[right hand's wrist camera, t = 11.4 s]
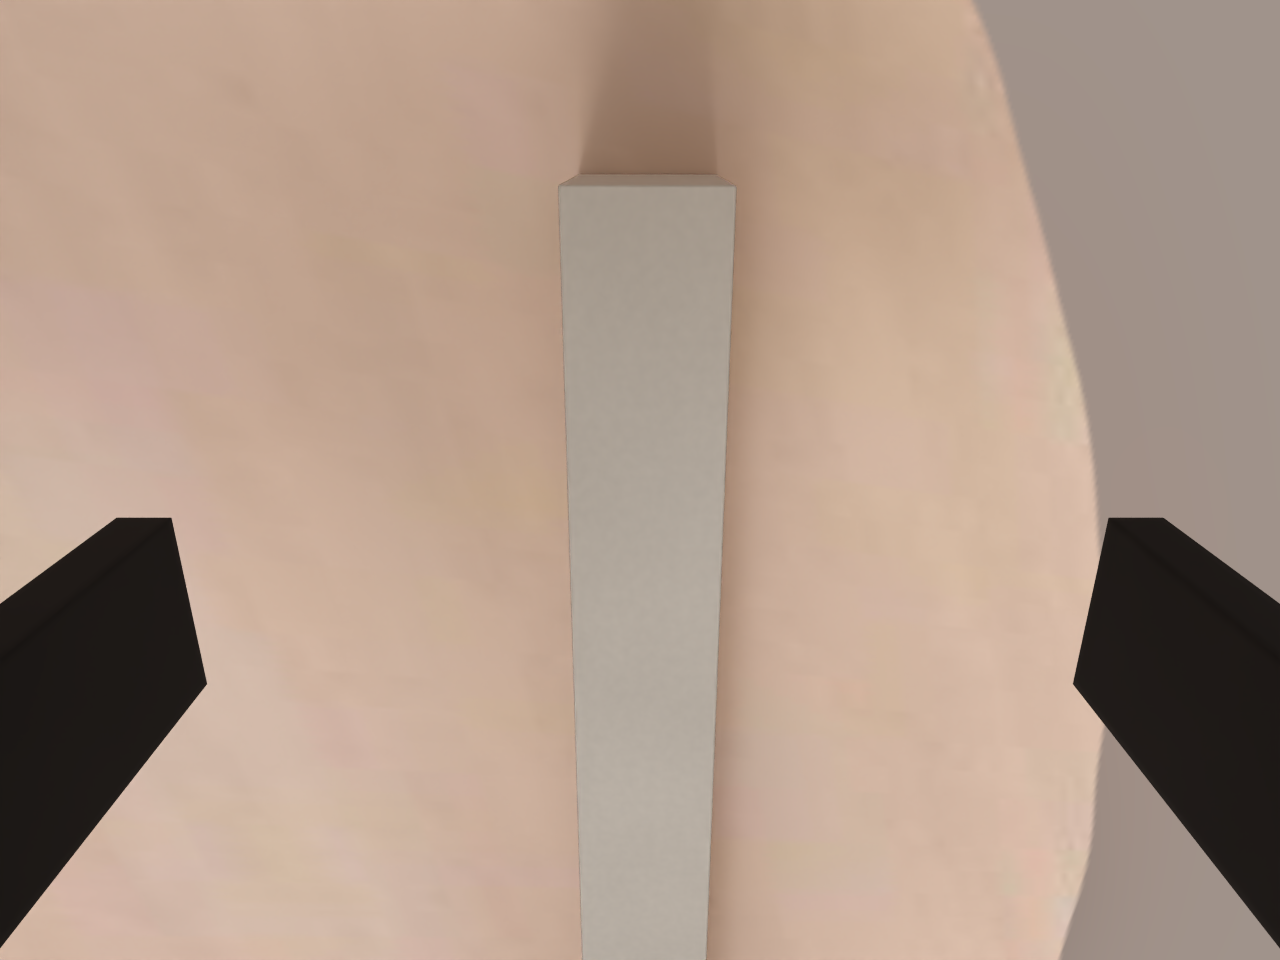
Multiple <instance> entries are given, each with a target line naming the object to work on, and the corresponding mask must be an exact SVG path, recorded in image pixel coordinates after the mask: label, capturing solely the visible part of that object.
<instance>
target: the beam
mask: <svg viewBox="0 0 1280 960" xmlns="http://www.w3.org/2000/svg"><path fill="white" fill-rule="evenodd" d="M736 191H737V187H736V185H734V184H732V183H730V182H729V181H727V180H725V179H723V178H722V177H720V176H718V175H716V174H579V175H577V176H575V177H573V178H571V179H569V180H568V181H566V182H564V183H562V184H560V185H559V186H558V201H559V233H560V265H561V297H562V329H563V361H564V393H565V425H566V457H567V489H568V521H569V553H570V585H571V618H572V650H573V682H574V714H575V746H576V778H577V810H578V842H579V874H580V906H581V938H582V960H706V959H707V934H708V908H709V882H710V857H711V831H712V806H713V780H714V754H715V729H716V703H717V678H718V652H719V626H720V601H721V575H722V549H723V524H724V498H725V473H726V447H727V421H728V396H729V370H730V345H731V319H732V293H733V268H734V242H735V216H736Z"/></svg>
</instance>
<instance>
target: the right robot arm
mask: <svg viewBox="0 0 1280 960" xmlns="http://www.w3.org/2000/svg"><path fill="white" fill-rule="evenodd" d="M206 685H207V682H206V677H205V672H204V668H203V663H202V658H201V654H200V649H199V644H198V640H197V635H196V630H195V626H194V621H193V616H192V612H191V607H190V602H189V598H188V593H187V588H186V584H185V579H184V574H183V570H182V565H181V560H180V556H179V551H178V546H177V542H176V537H175V532H174V528H173V523H172V518H116V519H114V520H113V521H112V522H110V523H109V524H108V525H106V526H105V527H104V528H102V529H101V530H99V531H98V532H97V533H95V534H94V535H93V536H91V537H90V538H89V539H87V540H86V541H85V542H83V543H82V544H81V545H79V546H78V547H76V548H75V549H74V550H72V551H71V552H70V553H68V554H67V555H66V556H64V557H63V558H62V559H60V560H59V561H58V562H56V563H55V564H53V565H52V566H51V567H49V568H48V569H47V570H45V571H44V572H43V573H41V574H40V575H39V576H37V577H36V578H34V579H33V580H32V581H30V582H29V583H28V584H26V585H25V586H24V587H22V588H21V589H20V590H18V591H17V592H16V593H14V594H13V595H11V596H10V597H9V598H7V599H6V600H5V601H3V602H2V603H1V604H0V948H1V946H2V945H3V944H4V943H5V941H6V940H7V939H8V938H9V936H10V935H11V934H12V932H13V931H14V930H15V929H16V927H17V926H18V925H19V923H20V922H21V921H22V920H23V918H24V917H25V916H26V915H27V913H28V912H29V911H30V909H31V908H32V907H33V906H34V904H35V903H36V902H37V900H38V899H39V898H40V897H41V895H42V894H43V893H44V892H45V890H46V889H47V888H48V886H49V885H50V884H51V883H52V881H53V880H54V879H55V878H56V876H57V875H58V874H59V872H60V871H61V870H62V869H63V867H64V866H65V865H66V863H67V862H68V861H69V860H70V858H71V857H72V856H73V855H74V853H75V852H76V851H77V849H78V848H79V847H80V846H81V844H82V843H83V842H84V840H85V839H86V838H87V837H88V835H89V834H90V833H91V832H92V830H93V829H94V828H95V826H96V825H97V824H98V823H99V821H100V820H101V819H102V817H103V816H104V815H105V814H106V812H107V811H108V810H109V809H110V807H111V806H112V805H113V803H114V802H115V801H116V800H117V798H118V797H119V796H120V794H121V793H122V792H123V791H124V789H125V788H126V787H127V786H128V784H129V783H130V782H131V780H132V779H133V778H134V777H135V775H136V774H137V773H138V772H139V770H140V769H141V768H142V766H143V765H144V764H145V763H146V761H147V760H148V759H149V757H150V756H151V755H152V754H153V752H154V751H155V750H156V749H157V747H158V746H159V745H160V743H161V742H162V741H163V740H164V738H165V737H166V736H167V734H168V733H169V732H170V731H171V729H172V728H173V727H174V726H175V724H176V723H177V722H178V720H179V719H180V718H181V717H182V715H183V714H184V713H185V711H186V710H187V709H188V708H189V706H190V705H191V704H192V703H193V701H194V700H195V699H196V697H197V696H198V695H199V694H200V692H201V691H202V690H203V689H204V687H205V686H206ZM1073 685H1074V686H1075V687H1076V689H1077V690H1078V691H1079V692H1080V694H1081V695H1082V696H1083V697H1084V699H1085V700H1086V701H1087V703H1088V704H1089V705H1090V706H1091V708H1092V709H1093V710H1094V711H1095V713H1096V714H1097V715H1098V717H1099V718H1100V719H1101V720H1102V722H1103V723H1104V724H1105V726H1106V727H1107V728H1108V729H1109V731H1110V732H1111V733H1112V734H1113V736H1114V737H1115V738H1116V740H1117V741H1118V742H1119V743H1120V745H1121V746H1122V747H1123V749H1124V750H1125V751H1126V752H1127V754H1128V755H1129V756H1130V757H1131V759H1132V760H1133V761H1134V763H1135V764H1136V765H1137V766H1138V768H1139V769H1140V770H1141V772H1142V773H1143V774H1144V775H1145V777H1146V778H1147V779H1148V780H1149V782H1150V783H1151V784H1152V786H1153V787H1154V788H1155V789H1156V791H1157V792H1158V793H1159V794H1160V796H1161V797H1162V798H1163V799H1164V801H1165V802H1166V803H1167V805H1168V806H1169V807H1170V808H1171V810H1172V811H1173V812H1174V814H1175V815H1176V816H1177V817H1178V819H1179V820H1180V821H1181V823H1182V824H1183V825H1184V826H1185V828H1186V829H1187V830H1188V832H1189V833H1190V834H1191V835H1192V837H1193V838H1194V839H1195V840H1196V842H1197V843H1198V844H1199V846H1200V847H1201V848H1202V849H1203V851H1204V852H1205V853H1206V855H1207V856H1208V857H1209V858H1210V860H1211V861H1212V862H1213V863H1214V865H1215V866H1216V867H1217V868H1218V870H1219V871H1220V872H1221V874H1222V875H1223V876H1224V878H1225V879H1226V880H1227V881H1228V883H1229V884H1230V885H1231V886H1232V888H1233V889H1234V890H1235V892H1236V893H1237V894H1238V895H1239V897H1240V898H1241V899H1242V900H1243V902H1244V903H1245V904H1246V906H1247V907H1248V908H1249V909H1250V911H1251V912H1252V913H1253V915H1254V916H1255V917H1256V918H1257V920H1258V921H1259V922H1260V923H1261V925H1262V926H1263V927H1264V929H1265V930H1266V931H1267V932H1268V934H1269V935H1270V936H1271V937H1272V939H1273V940H1274V941H1275V943H1276V944H1277V945H1278V946H1279V948H1280V604H1279V603H1278V602H1277V601H1275V600H1274V599H1273V598H1271V597H1270V596H1269V595H1267V594H1266V593H1264V592H1263V591H1262V590H1260V589H1259V588H1258V587H1256V586H1255V585H1254V584H1252V583H1251V582H1250V581H1248V580H1247V579H1245V578H1244V577H1243V576H1241V575H1240V574H1239V573H1237V572H1236V571H1235V570H1233V569H1232V568H1231V567H1229V566H1228V565H1227V564H1225V563H1224V562H1222V561H1221V560H1220V559H1218V558H1217V557H1216V556H1214V555H1213V554H1212V553H1210V552H1209V551H1208V550H1206V549H1205V548H1204V547H1202V546H1201V545H1199V544H1198V543H1197V542H1195V541H1194V540H1193V539H1191V538H1190V537H1189V536H1187V535H1186V534H1185V533H1183V532H1182V531H1181V530H1179V529H1178V528H1176V527H1175V526H1174V525H1172V524H1171V523H1170V522H1168V521H1167V520H1166V519H1164V518H1109V519H1108V523H1107V528H1106V532H1105V537H1104V542H1103V546H1102V551H1101V556H1100V560H1099V565H1098V570H1097V574H1096V579H1095V584H1094V588H1093V593H1092V598H1091V602H1090V607H1089V612H1088V616H1087V621H1086V626H1085V630H1084V635H1083V640H1082V644H1081V649H1080V654H1079V658H1078V663H1077V668H1076V672H1075V677H1074V682H1073Z"/></svg>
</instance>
